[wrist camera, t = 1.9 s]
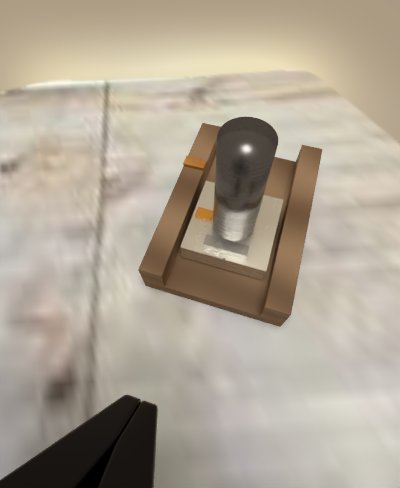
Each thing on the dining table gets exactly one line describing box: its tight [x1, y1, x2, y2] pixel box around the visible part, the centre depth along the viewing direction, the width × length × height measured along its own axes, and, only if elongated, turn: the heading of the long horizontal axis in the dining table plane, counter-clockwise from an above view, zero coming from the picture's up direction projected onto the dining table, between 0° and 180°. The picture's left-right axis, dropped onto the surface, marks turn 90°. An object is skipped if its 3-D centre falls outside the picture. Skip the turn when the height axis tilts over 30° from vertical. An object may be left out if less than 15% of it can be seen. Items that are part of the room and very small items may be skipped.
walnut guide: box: [138, 123, 322, 326], centre depth 25 cm, size 14×10×3 cm
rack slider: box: [180, 117, 283, 280], centre depth 20 cm, size 6×6×10 cm
